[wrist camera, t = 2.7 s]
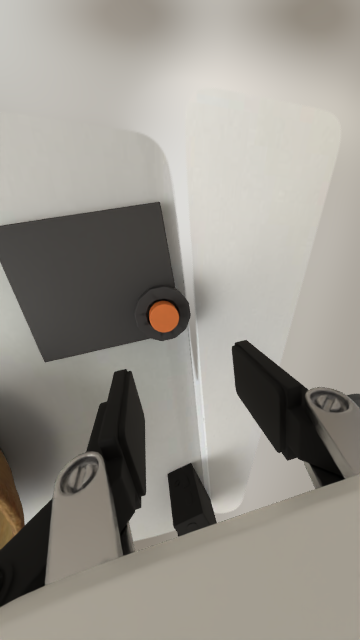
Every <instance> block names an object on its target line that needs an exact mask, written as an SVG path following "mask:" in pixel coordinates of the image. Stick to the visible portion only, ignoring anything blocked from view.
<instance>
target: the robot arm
mask: <svg viewBox="0 0 360 640" xmlns="http://www.w3.org/2000/svg"><path fill="white" fill-rule="evenodd" d="M232 355H233V365H234V376H235V386H236V392H237V394H238V396H239V398H240V399H241V400H242V402H243V403H244V405H245V406H246V408H247V409H248V411H249V412H250V413H251V415H252V416H253V418H254V419H255V421H256V422H257V424H258V425H259V427H260V428H261V429H262V431H263V432H264V434H265V435H266V436H267V438H268V440H269V441H270V442H271V444H272V445H273V446H274V448H275V450H276V451H277V452H278V453H280V452H282V454H283V455H284V456H285V458H286V459H287V460H291V459H294V458H298V459H300V460H302V461H304V465H305V467H306V469H307V471H308V473H309V476H310V478H311V480H312V482H313V484H314V487H315V490H312V491H309V492H306V493H303V494H300V495H297V496H294V497H291V498H288V499H285V500H283V501H280V502H277V503H274V504H271V505H268V506H265V507H262V508H259V509H257V510H254V511H251V512H248V513H245V514H242V515H239V516H236V517H233V518H231V519H228V520H225V521H222V522H219V523H216V524H213V525H210V526H207V527H205V528H202V529H199V530H196V531H193V532H190V533H187V534H185V535H182V536H179V537H176V538H173V539H170V540H168V541H165V542H162V543H159V544H156V545H153V546H151V547H148V548H145V549H142V550H139V551H136V552H135V548H134V544H133V539H132V534H131V530H130V525H129V520H130V519H131V517H132V516H133V514H134V513H135V510H136V509H139V508H141V496H144V495H146V462H145V418H144V413H143V410H142V406H141V403H140V399H139V396H138V392H137V389H136V385H135V382H134V378H133V375H132V372H131V371H129V372H127V370H126V369H124V370H120V371H116V372H114V375H113V380H112V384H111V388H110V392H109V396H108V400H107V402H104V403H101V404H100V406H99V409H98V412H97V416H96V419H95V423H94V426H93V430H92V433H91V437H90V440H89V444H88V447H87V451H86V452H85V453H83V454H80V455H78V456H77V457H75V458H73V459H72V460H71V461H70V462H69V463H68V464H66V465H65V467H64V468H63V469H62V470H61V472H60V473H59V475H58V477H57V479H56V481H55V485H54V491H53V498H52V499H51V500H50V501H49V502H48V503H47V504H46V505H45V506H44V507H43V508H42V509H41V510H40V511H39V512H38V513H37V514H36V515H35V516H34V517H33V518H32V519H31V520H30V521H29V522H28V523H27V524H26V525H25V526H24V527H23V528H22V529H21V530H20V531H19V532H18V533H17V534H16V535H15V536H14V537H13V538H12V539H11V540H10V541H9V542H8V543H7V544H6V545H5V546H4V547H3V548H2V549H1V550H0V640H360V408H359V407H358V406H357V405H356V404H355V403H354V402H353V400H352V399H350V398H349V397H348V396H347V395H345V394H343V393H342V392H340V391H337V390H334V389H330V388H325V387H317V388H312V389H310V390H308V389H307V388H305V387H304V386H303V385H302V384H300V383H299V382H298V381H297V380H295V379H294V378H293V377H292V376H290V375H289V374H288V373H287V372H285V371H284V370H283V369H282V368H280V367H279V366H278V365H277V364H275V363H274V362H273V361H272V360H270V359H269V358H268V357H267V356H265V355H264V354H263V353H262V352H260V351H259V350H258V349H257V348H255V347H254V346H253V345H252V344H251V343H249V342H248V341H247V340H244V341H240V342H236V343H235V346H232Z"/></svg>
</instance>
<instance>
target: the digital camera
mask: <svg viewBox="0 0 360 640" xmlns="http://www.w3.org/2000/svg"><path fill="white" fill-rule="evenodd" d="M168 482H169V491H170V500H171V508H172V517H173V526H174V528H175V529H176V531H177V532H178V537H179V536H182V535H185V534H187V533H190V532H193V531H196V530H199V529H202V528H205V527H207V526H210V525H213V524H216V523H217V522H216V518H215V515H214V511H213V508H212V504H211V501H210V498H209V496H208V494H207V492H206V490H205V488H204V487H203V485H202V483H201V481H200V479H199V477H198V475H197V473H196V471H195V469H194V467H193V465H192V464H189V465H187V466H184V467H182V468H180V469H178V470H176V471H173V472H171V473H169V474H168Z"/></svg>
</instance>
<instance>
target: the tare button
mask: <svg viewBox="0 0 360 640" xmlns="http://www.w3.org/2000/svg"><path fill="white" fill-rule="evenodd" d="M149 318H150V323H151V325H152V327H153V328H154V329H155V330H157V331H159V332H169V331H171V330H173V329H174V328H175V327H176V326H177V324H178V322H179V314H178V311H177V310H176V308H175V307H174V305H173V304H172V303H170V302H168V301H159V302H156V303H155V304H154V305H153V306H152V307H151V308H150V311H149Z"/></svg>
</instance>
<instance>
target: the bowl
mask: <svg viewBox="0 0 360 640" xmlns="http://www.w3.org/2000/svg"><path fill="white" fill-rule="evenodd" d="M24 526H25V524H24V514H23V508H22V505H21V501H20V498H19V495H18V492H17V490H16V487H15V483H14V480H13V476H12V472H11V469H10V467H9V465H8V462H7V460H6V458H5V456H4V455H3V452H2V451H1V449H0V550H1V549H2V548H3V547H4V546H5V545H6V544H7V543H8V542H9V541H10V540H11V539H12V538H13V537H14V536H15V535H16V534H17V533H18V532H19V531H20V530H21V529H22V528H23V527H24Z"/></svg>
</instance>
